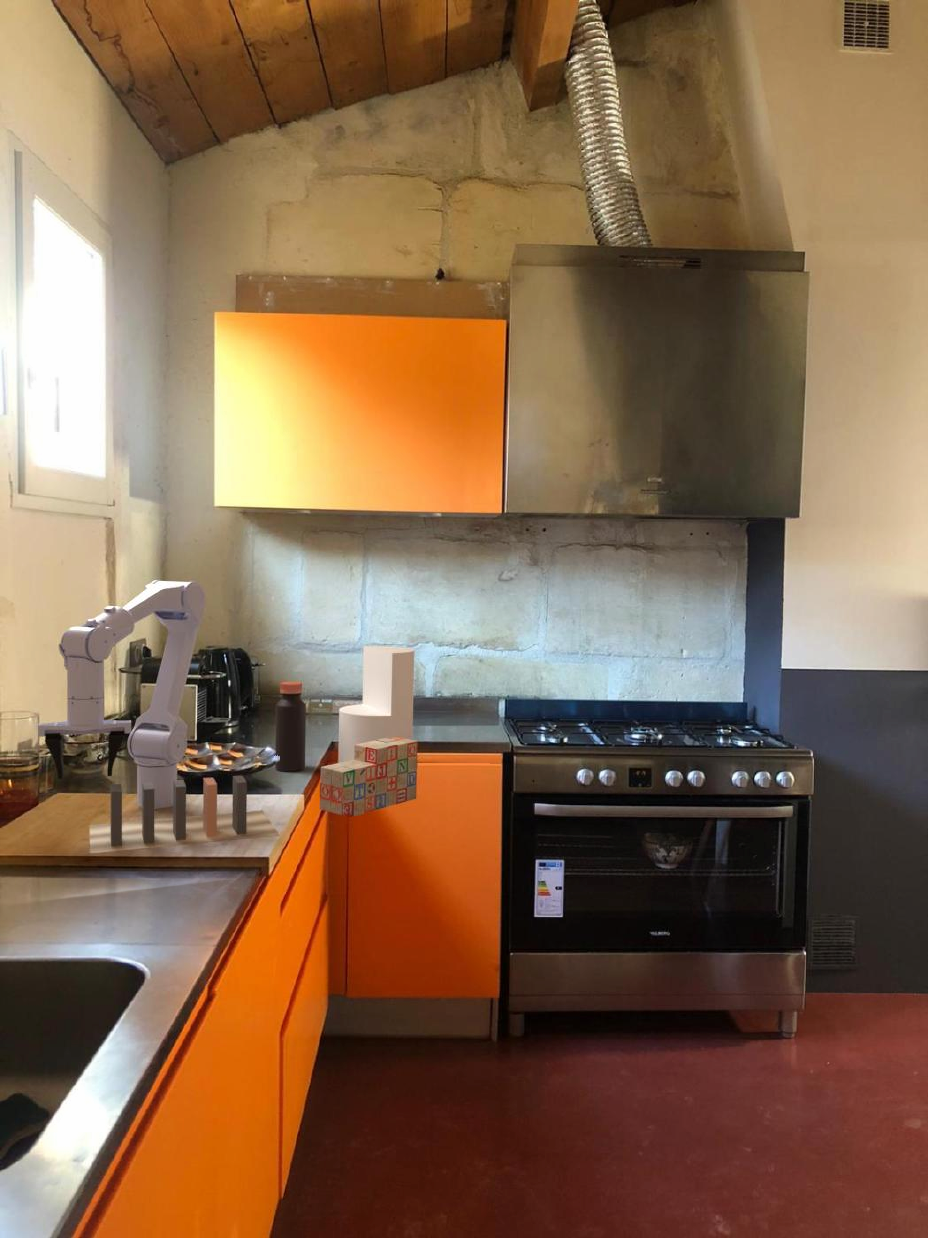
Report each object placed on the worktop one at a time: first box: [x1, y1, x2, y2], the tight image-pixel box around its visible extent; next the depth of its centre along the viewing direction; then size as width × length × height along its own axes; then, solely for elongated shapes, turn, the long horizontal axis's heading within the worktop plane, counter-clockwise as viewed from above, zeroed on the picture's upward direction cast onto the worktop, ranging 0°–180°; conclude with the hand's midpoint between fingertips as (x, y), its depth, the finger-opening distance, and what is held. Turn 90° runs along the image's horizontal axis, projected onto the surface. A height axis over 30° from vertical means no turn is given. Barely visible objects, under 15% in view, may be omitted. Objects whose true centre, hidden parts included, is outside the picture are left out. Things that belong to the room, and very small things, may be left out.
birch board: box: [89, 809, 280, 855], centre depth 153 cm, size 16×30×1 cm, turn 113°
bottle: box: [274, 681, 307, 773], centre depth 204 cm, size 7×7×20 cm
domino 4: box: [202, 777, 218, 837], centre depth 151 cm, size 2×5×9 cm, turn 24°
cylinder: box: [337, 645, 415, 763], centre depth 206 cm, size 17×17×28 cm
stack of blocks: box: [319, 737, 419, 818], centre depth 174 cm, size 21×6×12 cm, turn 142°
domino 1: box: [110, 783, 123, 847], centre depth 146 cm, size 2×5×9 cm, turn 23°
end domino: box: [232, 775, 248, 835], centre depth 153 cm, size 2×5×9 cm, turn 23°
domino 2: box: [141, 782, 155, 843], centre depth 148 cm, size 2×5×9 cm, turn 23°
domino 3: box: [172, 779, 187, 840], centre depth 150 cm, size 2×5×9 cm, turn 24°
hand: (85, 776), depth 151 cm, fingers open, 7 cm apart
